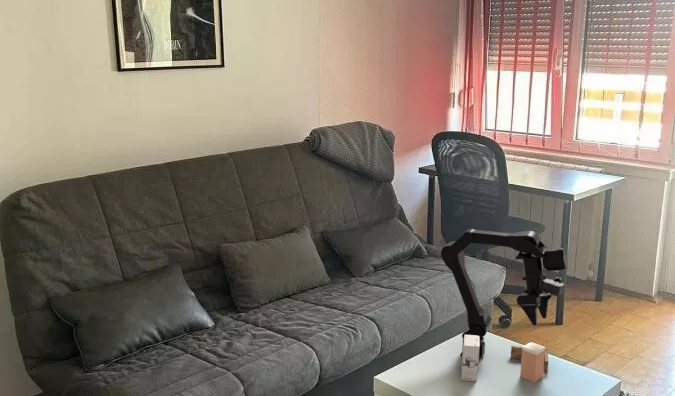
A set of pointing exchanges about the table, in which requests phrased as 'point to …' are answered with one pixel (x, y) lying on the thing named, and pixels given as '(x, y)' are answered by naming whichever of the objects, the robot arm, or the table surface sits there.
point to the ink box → (470, 357)
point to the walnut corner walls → (517, 353)
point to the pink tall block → (532, 361)
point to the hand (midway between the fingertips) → (539, 321)
